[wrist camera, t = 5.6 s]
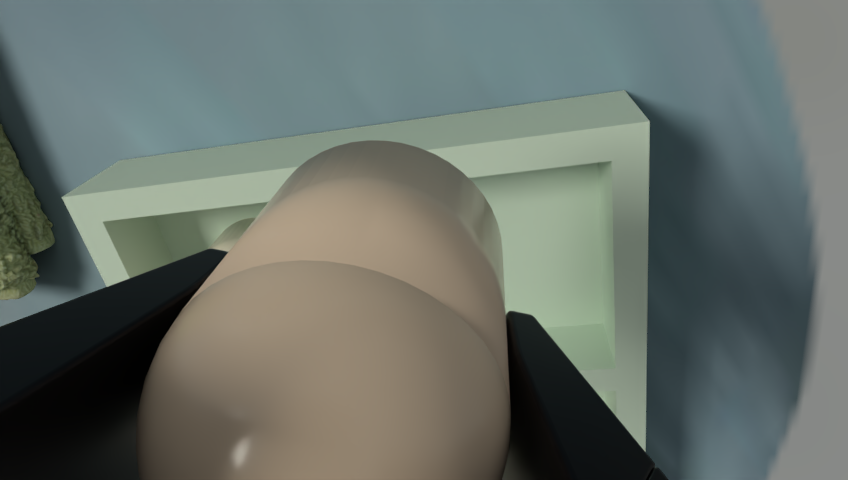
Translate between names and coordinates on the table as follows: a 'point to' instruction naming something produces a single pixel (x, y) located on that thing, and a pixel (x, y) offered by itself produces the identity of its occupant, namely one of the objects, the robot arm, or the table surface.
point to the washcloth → (19, 227)
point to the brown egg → (342, 335)
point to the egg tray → (492, 174)
